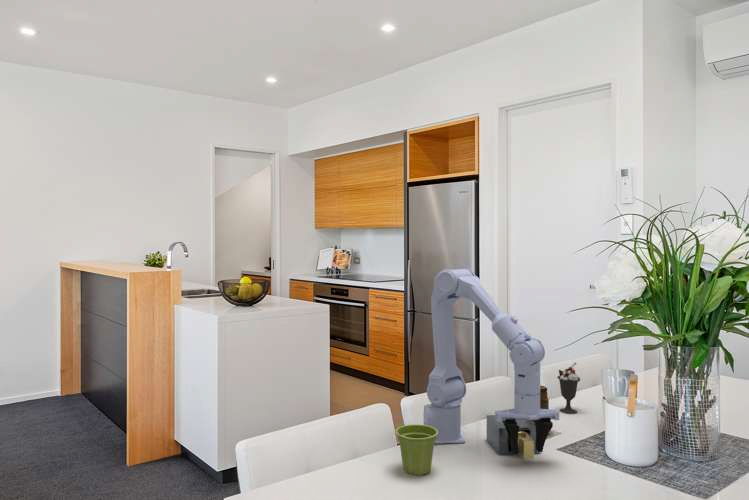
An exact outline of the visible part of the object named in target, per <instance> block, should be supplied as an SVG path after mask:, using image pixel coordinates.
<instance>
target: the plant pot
mask: <svg viewBox="0 0 749 500" xmlns="http://www.w3.org/2000/svg"><path fill="white" fill-rule="evenodd" d="M395 435H396V436H397V439H398V442H399V447H400V455H401V462H402V469H403V471H404V472H405V473H406V474H408V475H411V474H414V475H416V476H422V475H426V474H428V473H430V471H431V469H432V463H433V454H434V447H435V444H434V442H435V440H436V436H437V435H438V431H437V429H435V428H433V427H431V426H427V425H424V424H407V425H406V424H405V425H402V426H399V427H397V428H396V429H395Z"/></svg>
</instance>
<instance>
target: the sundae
mask: <svg viewBox="0 0 749 500" xmlns="http://www.w3.org/2000/svg"><path fill="white" fill-rule="evenodd" d="M575 365H577V363H576V362H574V363H573V364H571V366H569V367H568V368H565V369H564V370H561V369H558V374H559V375H557V377H556V378H557V379H558V380H559V385H560V393H561V397H563V399H565V400H566V402H565V403H566V405H565V407H563V408H561V409H559V412H561V413H563V414H566V415H567V414H569V415H575V414H577V413H578V411H577V410H575V409H574V408H572V407H571V406H572V405H571V401H572V400H573V399H574V398H575V397H576V396H577V395H576V394H577V391H578V390H577V389H578V383H579V382H580V381H581V378H580V376H579V377H578V375H577V373H576V370H575V369H574V366H575Z"/></svg>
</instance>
